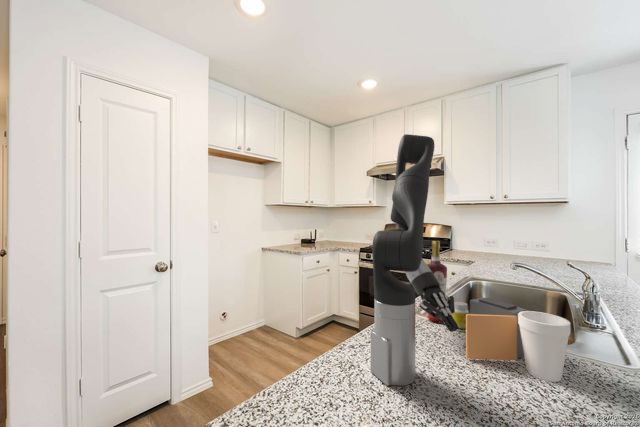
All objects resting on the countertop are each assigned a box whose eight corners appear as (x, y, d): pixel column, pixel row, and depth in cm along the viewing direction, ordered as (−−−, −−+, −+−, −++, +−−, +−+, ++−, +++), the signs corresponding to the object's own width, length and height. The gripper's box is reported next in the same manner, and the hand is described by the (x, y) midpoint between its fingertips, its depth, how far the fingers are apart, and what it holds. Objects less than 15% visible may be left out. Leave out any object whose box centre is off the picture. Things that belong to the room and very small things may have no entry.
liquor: (443, 317, 100) (443, 240, 100) (450, 324, 93) (449, 242, 93) (422, 315, 101) (422, 240, 101) (427, 323, 94) (427, 241, 94)
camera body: (513, 360, 70) (513, 310, 70) (470, 340, 81) (470, 298, 81) (527, 355, 72) (526, 307, 73) (483, 337, 83) (483, 295, 83)
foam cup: (549, 389, 58) (549, 327, 58) (509, 366, 67) (508, 313, 67) (581, 382, 60) (580, 323, 61) (538, 360, 69) (537, 309, 70)
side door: (516, 360, 68) (516, 316, 69) (467, 358, 69) (467, 315, 70) (514, 359, 69) (514, 315, 69) (465, 356, 70) (465, 314, 70)
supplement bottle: (467, 333, 86) (467, 306, 86) (451, 329, 89) (451, 303, 89) (469, 328, 90) (469, 302, 90) (454, 325, 92) (454, 300, 93)
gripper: (411, 272, 82) (446, 328, 71) (442, 269, 88) (479, 320, 77) (399, 286, 87) (430, 340, 76) (429, 281, 93) (462, 331, 81)
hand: (454, 330), depth 76 cm, fingers closed
